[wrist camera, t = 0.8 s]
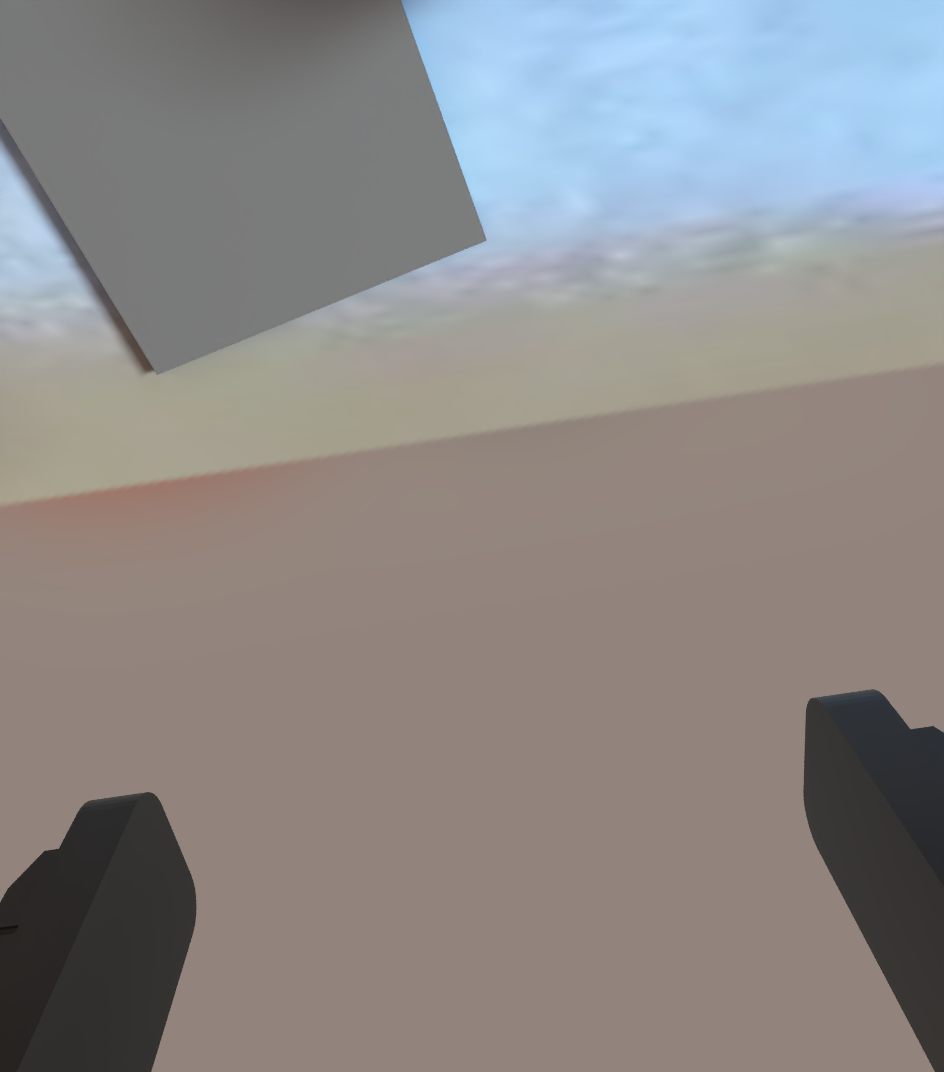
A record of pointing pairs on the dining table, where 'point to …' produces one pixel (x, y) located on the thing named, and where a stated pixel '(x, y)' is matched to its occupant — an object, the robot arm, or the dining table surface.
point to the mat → (233, 155)
